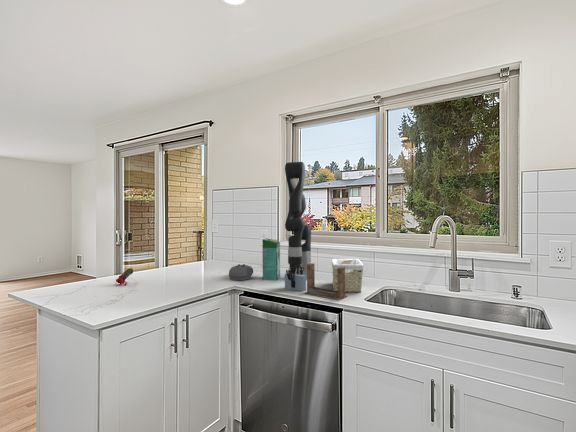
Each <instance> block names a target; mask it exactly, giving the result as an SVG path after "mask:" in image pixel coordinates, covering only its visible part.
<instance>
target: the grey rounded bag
mask: <svg viewBox="0 0 576 432" xmlns="http://www.w3.org/2000/svg"><path fill="white" fill-rule="evenodd" d="M253 274H254V268H253V267H252V266H250V265H248V264H247V265H246V264H245V263H244V264H240V263H239V264H237V265H235V266H231V268H230V269H229V271H228V277H229V280H232V281H245V280H249V279H250V278H251V277H252V275H253Z"/></svg>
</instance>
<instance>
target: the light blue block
mask: <svg viewBox="0 0 576 432" xmlns="http://www.w3.org/2000/svg"><path fill="white" fill-rule="evenodd" d="M292 275H294V274H292ZM292 277H293V276H292ZM284 289H288V290H291V291H292V290H293V291H298V292H305V291H307V279H306V275H298V274H296V277H295V288H292V287H291V280H288V277H287V274H286V273H284Z"/></svg>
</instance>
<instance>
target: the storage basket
mask: <svg viewBox="0 0 576 432" xmlns="http://www.w3.org/2000/svg"><path fill="white" fill-rule="evenodd" d="M331 266H332V288H333V290H338V274H337V268H339V267H345V293H346V292H349V293H350V292H351V293H352V292H353V293H354V292H357V293H358V292H359V293H360V292H361V291H362V284H363V282H362V281H363V275H364V274H363V273H364V264H363V262H362V261H361V260H360V259H359V258H332V259H331Z"/></svg>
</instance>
